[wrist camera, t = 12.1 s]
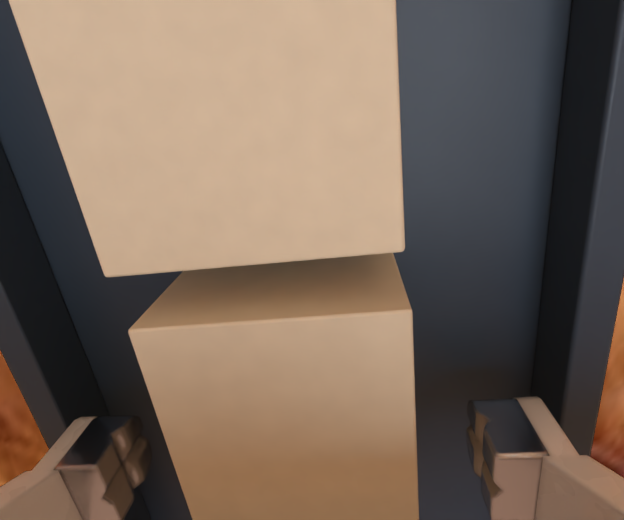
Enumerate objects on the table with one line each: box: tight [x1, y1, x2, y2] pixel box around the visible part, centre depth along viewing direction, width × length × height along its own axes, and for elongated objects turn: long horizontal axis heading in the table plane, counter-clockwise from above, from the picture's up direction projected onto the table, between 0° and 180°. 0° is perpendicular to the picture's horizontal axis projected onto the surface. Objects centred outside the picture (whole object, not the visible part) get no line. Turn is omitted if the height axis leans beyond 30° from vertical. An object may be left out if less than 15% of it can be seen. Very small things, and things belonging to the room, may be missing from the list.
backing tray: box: [0, 0, 624, 520], centre depth 10 cm, size 24×14×2 cm, turn 7°
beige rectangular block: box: [128, 253, 419, 520], centre depth 10 cm, size 5×8×3 cm, turn 7°
